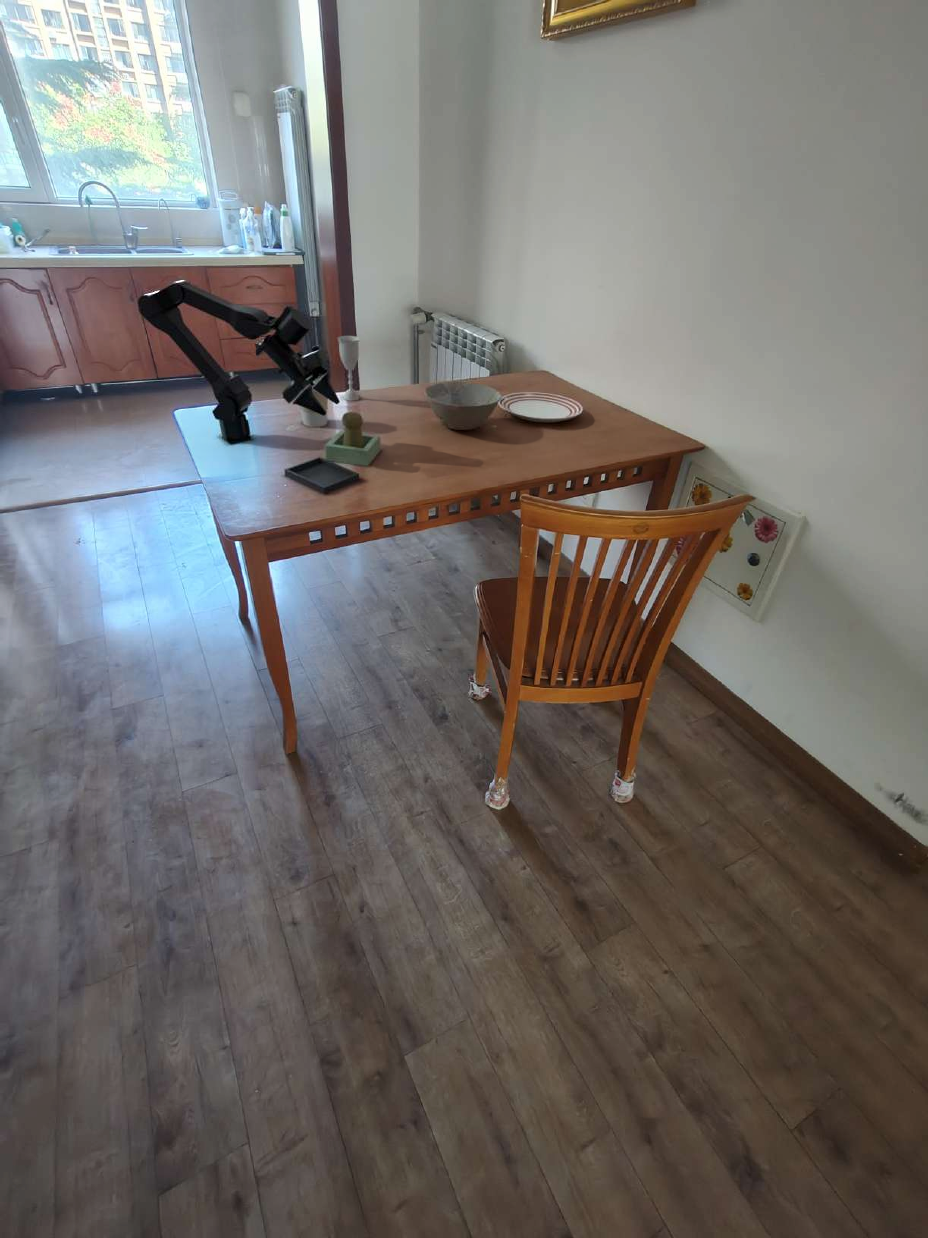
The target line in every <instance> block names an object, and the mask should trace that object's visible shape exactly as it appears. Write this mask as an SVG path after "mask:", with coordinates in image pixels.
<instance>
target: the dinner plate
mask: <svg viewBox="0 0 928 1238" xmlns="http://www.w3.org/2000/svg"><path fill="white" fill-rule="evenodd" d="M497 405H498V406H499V407H500V408H501V409H502V410H504V411H505V412H507V413H508V414H510V415H513V416H514V417H517V418H519V419H521V420H524V421H528V422H533V423H541V424H542V423H543V424H548V423H549V424H551V423H559V422H563V421H568V420H571V419H573V418H575V417H577V416H579V415H580V414H582V413H583V411H584V408H583V406H582V404H581V403H580V402H578V401H576V400H574V399H571V398H569V397H567V396H563V395H558V394H555V393H547V392H535V391H533V392H532V391H526V392H525V391H523V392H514V393H509V394H506V395H503V396H502V397H501V399H500V401H499V402H498V404H497Z"/></svg>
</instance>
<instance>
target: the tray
mask: <svg viewBox="0 0 928 1238" xmlns="http://www.w3.org/2000/svg"><path fill="white" fill-rule="evenodd" d="M284 476H285V477H287V478H289V479H291V480H293V481H295V482H296V483H297V482H298V483H299V484H301V485H303V486H306V487H308V488H310V489H312V490H314V491H316V492H318V493H321V494H322V495H327V494H329V493H332V492H334V491H336V490H339V489H341V488H344V487H346V486H349V485H351V484H354V483H356V482H358V481H360V473H358V472H356V471H353V470H352V469H349V468H347V467H345V466H342V465H340V464H337V463H335V462H334V461H329V460H326V458H324V457H321V456H318V457H315V458H312V459H309V460H306V461H304V462H301V463H298V464H295V465H293V466H290V467H287V468H284Z"/></svg>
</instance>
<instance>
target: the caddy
mask: <svg viewBox="0 0 928 1238" xmlns="http://www.w3.org/2000/svg"><path fill="white" fill-rule="evenodd" d="M362 437H363V443H364V448H357V447H349V446H343V441H344V430H341V429H340V430H339V431H338V432H337V433H336V434H335V435H334V436H333V437H332V438H331V439H330V440H329V441H328V442H327V443H326V444H325V445H324V449H325V459H326V460H328V461H331V462H334V463H335V462H337V463H341V464H342V463H344V464H350V465H358V466H362V467H363V466H364V467H368V466H369V465H370V464H371V463H372V461H373V460H374V459H375V458H376V456H377V455H378V454H379V453H380V452H381V435H377V434H369V433H363V432H362Z"/></svg>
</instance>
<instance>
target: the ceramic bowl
mask: <svg viewBox="0 0 928 1238" xmlns="http://www.w3.org/2000/svg"><path fill="white" fill-rule="evenodd" d="M423 393H424V396H425V398H426V399H427V402H428V404H429V405H430V408H431V409H432V411H433V413H434V414H435V416H436V417H437V418H438V420H439V422H440V423H441V424H442V425H443V426H444V427H446V428H449V429H451V430H455V431H456V430H458V431H470V430H475V429H477V428H479V427H481V426H482V425H483V424H484V423H485V422H486V421H487V420H488V419H489V417H490V416H491V415H492V414H493V412H494V411H495V409H496V407H497V405H499V404H498V402H499V401H500V399H501V397H503V396H502V393H501V392H500V391H498V390H496V389H495V388H493V387H491V386H487V385H484V384H480V383H475V382H470V381H469V382H468V381H448V382H439V383H434V384H431V385H428V386H426V387H425V388H424V391H423Z"/></svg>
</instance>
